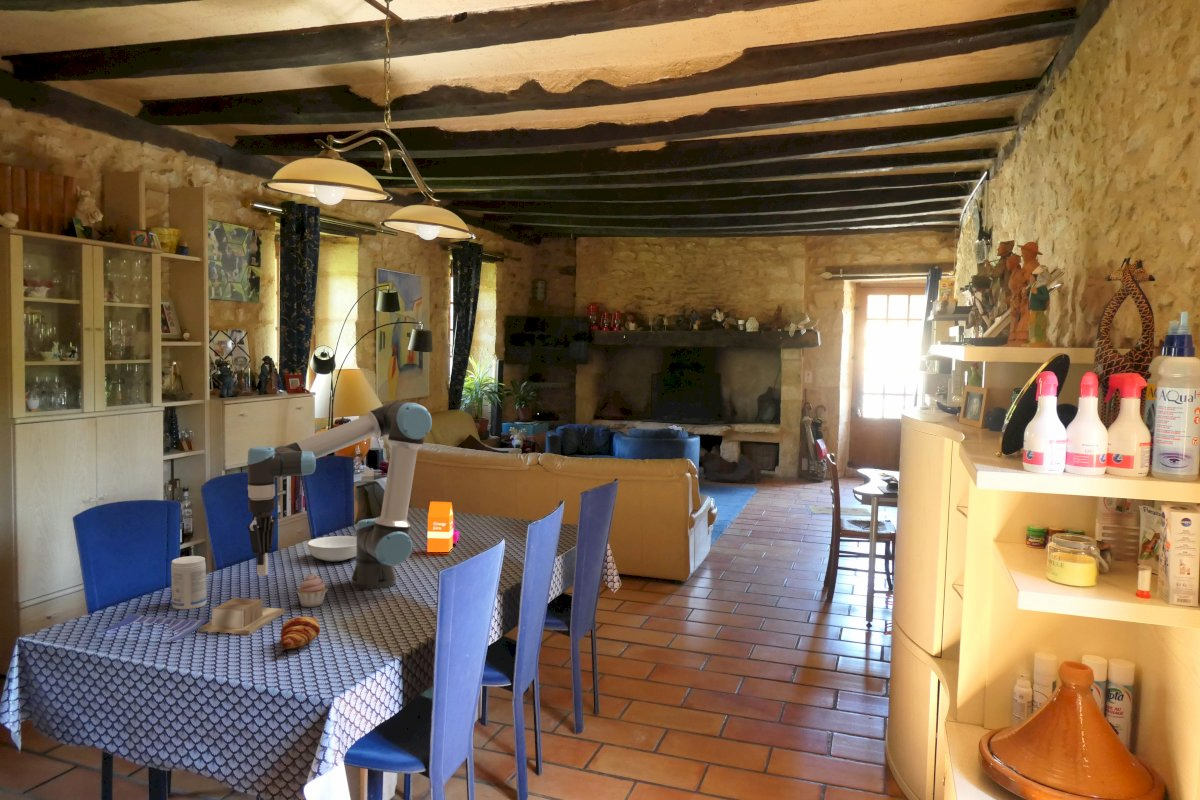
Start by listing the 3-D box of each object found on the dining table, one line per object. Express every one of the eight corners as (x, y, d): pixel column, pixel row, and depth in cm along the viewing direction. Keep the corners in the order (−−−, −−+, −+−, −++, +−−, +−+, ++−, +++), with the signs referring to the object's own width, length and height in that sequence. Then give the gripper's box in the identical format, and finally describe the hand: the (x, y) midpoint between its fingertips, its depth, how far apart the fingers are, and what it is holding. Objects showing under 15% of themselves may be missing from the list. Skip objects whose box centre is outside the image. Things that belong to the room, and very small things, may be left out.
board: (284, 612, 247) (284, 608, 247) (249, 634, 228) (249, 630, 227) (237, 610, 249) (237, 606, 249) (199, 631, 229) (199, 627, 229)
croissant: (306, 639, 233) (291, 615, 233) (336, 621, 233) (321, 597, 233) (276, 665, 212) (260, 639, 212) (309, 646, 212) (293, 620, 212)
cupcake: (318, 610, 250) (318, 578, 250) (290, 608, 252) (290, 576, 252) (333, 601, 260) (333, 570, 259) (306, 599, 261) (306, 568, 261)
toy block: (456, 544, 341) (456, 527, 341) (441, 544, 341) (441, 527, 340) (460, 536, 356) (460, 519, 356) (445, 536, 355) (446, 519, 355)
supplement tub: (206, 600, 258) (206, 554, 257) (206, 608, 249) (206, 561, 249) (172, 603, 254) (171, 557, 253) (170, 612, 245) (170, 564, 244)
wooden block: (262, 599, 240) (242, 611, 229) (262, 616, 240) (242, 628, 229) (233, 597, 241) (212, 609, 230) (233, 614, 241) (212, 626, 230)
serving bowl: (372, 553, 323) (372, 536, 322) (351, 567, 302) (351, 548, 301) (322, 551, 325) (322, 534, 324) (297, 564, 304) (297, 546, 303)
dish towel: (132, 621, 238) (132, 612, 238) (210, 625, 236) (210, 616, 236) (91, 642, 221) (91, 631, 221) (175, 646, 219) (175, 636, 219)
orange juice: (449, 553, 326) (449, 503, 324) (427, 552, 326) (427, 503, 325) (452, 548, 333) (453, 500, 332) (431, 548, 334) (432, 499, 332)
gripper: (260, 493, 253) (261, 568, 255) (238, 501, 240) (239, 580, 242) (283, 494, 252) (284, 569, 254) (262, 502, 239) (263, 581, 241)
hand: (262, 574), depth 248 cm, fingers closed
